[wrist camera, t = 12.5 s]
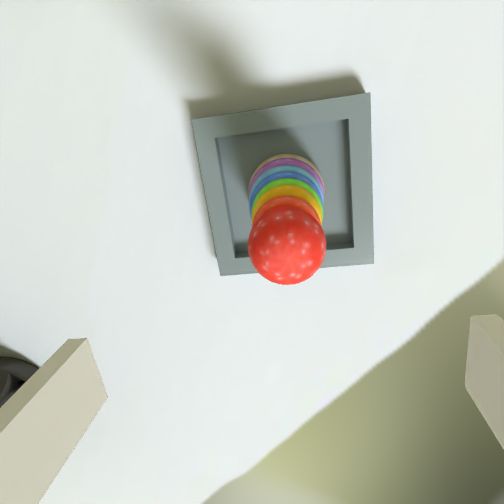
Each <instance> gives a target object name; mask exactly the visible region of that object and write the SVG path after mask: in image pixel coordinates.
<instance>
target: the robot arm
mask: <svg viewBox="0 0 504 504" xmlns="http://www.w3.org/2000/svg"><path fill="white" fill-rule="evenodd" d="M465 388H466V389H467V390H468V392H469V394H470V396H471V397H472V399H473V401H474V402H475V404H476V405H477V407H478V409H479V410H480V412H481V413H482V415H483V416H484V418H485V420H486V422H487V423H488V425H489V426H490V428H491V430H492V431H493V433H494V435H495V436H496V438H497V439H498V441H499V442H500V444H501V446H502V448H503V449H504V321H503V320H502V319H501V318H500V317H499V316H498V315H481V316H471V319H470V331H469V343H468V355H467V366H466V378H465ZM107 398H108V396H107V393H106V390H105V387H104V384H103V382H102V379H101V376H100V373H99V370H98V367H97V365H96V362H95V359H94V356H93V353H92V351H91V348H90V345H89V342H88V339H87V338H82V339H68V340H67V341H66V342H65V343H64V344H63V345H62V346H61V347H60V348H59V349H58V350H57V351H56V352H55V353H54V354H53V355H52V356H51V357H50V358H49V359H48V360H47V361H46V362H45V363H44V364H43V365H42V366H41V367H40V368H39V369H38V368H36V367H35V366H33V365H31V364H29V363H27V362H24V361H21V360H18V359H14V358H8V357H0V504H38V503H39V502H40V500H41V499H42V497H43V496H44V494H45V493H46V491H47V490H48V488H49V486H50V485H51V483H52V482H53V480H54V479H55V477H56V476H57V474H58V473H59V471H60V470H61V468H62V467H63V465H64V463H65V462H66V460H67V459H68V457H69V456H70V454H71V453H72V451H73V450H74V448H75V447H76V445H77V444H78V442H79V441H80V439H81V437H82V436H83V434H84V433H85V431H86V430H87V428H88V427H89V425H90V424H91V422H92V421H93V419H94V418H95V416H96V415H97V413H98V411H99V410H100V408H101V407H102V405H103V404H104V402H105V401H106V399H107Z"/></svg>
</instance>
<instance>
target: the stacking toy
mask: <svg viewBox="0 0 504 504" xmlns="http://www.w3.org/2000/svg"><path fill="white" fill-rule="evenodd" d="M324 195H325V188H324V182H323V179H322V176H321V174H320V172H319V171H318V169H317V168H316V167H315V166H314V165H313V164H312V163H311V162H310V161H309V160H307V159H305V158H303V157H301V156H298V155H294V154H279V155H275V156H272V157H270V158H268V159H266V160H265V161H264V162H262V163H261V164H260V165H259V166H258V167H257V169H256V170H255V171H254V173H253V175H252V177H251V179H250V182H249V187H248V198H249V211H250V217H251V220H252V229H251V231H250V234H249V239H248V253H249V257H250V260H251V262H252V264H253V266H254V267H255V269H256V270H257V272H258V273H260V274H261V275H262V276H263V277H264V278H266V279H268V280H269V281H272V282H274V283H278V284H282V285H290V284H296V283H300V282H302V281H305V280H307V279H308V278H310V277H311V276H312V275H313V274H314V273H315V272H316V271H317V270H318V269H319V267H320V266H321V264H322V262H323V260H324V257H325V253H326V238H325V234H324V231H323V229H322V227H321V225H322V220H323V205H324Z"/></svg>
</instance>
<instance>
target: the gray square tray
mask: <svg viewBox="0 0 504 504" xmlns="http://www.w3.org/2000/svg"><path fill="white" fill-rule="evenodd" d="M191 121H192V126H193V132H194V137H195V142H196V148H197V153H198V158H199V164H200V169H201V174H202V180H203V185H204V191H205V196H206V201H207V207H208V212H209V217H210V223H211V228H212V233H213V239H214V244H215V249H216V255H217V260H218V265H219V271H220V276H226V275H238V274H251V273H258V272H257V270H256V269H255V267H254V266H253V264H252V262H251V260H250V257H249V253H248V239H249V234H250V231H251V229H252V220H251V217H250V211H249V198H248V187H249V182H250V179H251V177H252V175H253V173H254V171H255V170H256V169H257V167H258V166H259V165H260V164H261V163H262V162H264V161H265V160H266V159H268V158H270V157H272V156H275V155H279V154H294V155H298V156H301V157H303V158H305V159H307V160H309V161H310V162H311V163H312V164H313V165H314V166H315V167H316V168H317V169H318V171H319V172H320V174H321V176H322V179H323V182H324V188H325V195H324V205H323V220H322V225H321V227H322V229H323V231H324V234H325V238H326V253H325V257H324V260H323V262H322V264H321V266H320V267H319V268H325V267H337V266H349V265H362V264H374V242H373V195H372V149H371V102H370V92H369V93H363V94H356V95H350V96H343V97H336V98H330V99H323V100H317V101H310V102H304V103H297V104H290V105H284V106H277V107H271V108H264V109H258V110H251V111H244V112H238V113H231V114H225V115H218V116H211V117H205V118H198V119H192V120H191Z"/></svg>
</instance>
